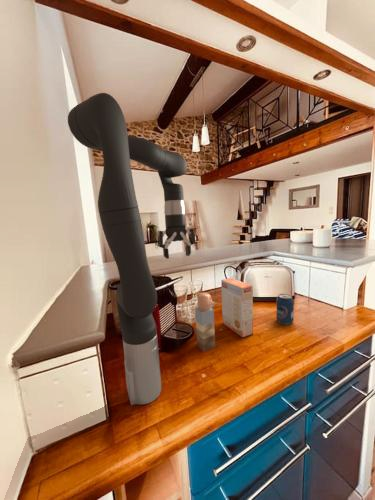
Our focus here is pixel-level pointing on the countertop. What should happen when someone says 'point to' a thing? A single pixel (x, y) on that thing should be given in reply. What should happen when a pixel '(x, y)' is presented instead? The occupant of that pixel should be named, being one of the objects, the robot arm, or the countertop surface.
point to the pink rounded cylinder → (203, 301)
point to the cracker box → (237, 306)
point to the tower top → (204, 316)
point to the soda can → (285, 308)
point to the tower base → (206, 342)
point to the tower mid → (205, 330)
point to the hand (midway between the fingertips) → (177, 256)
